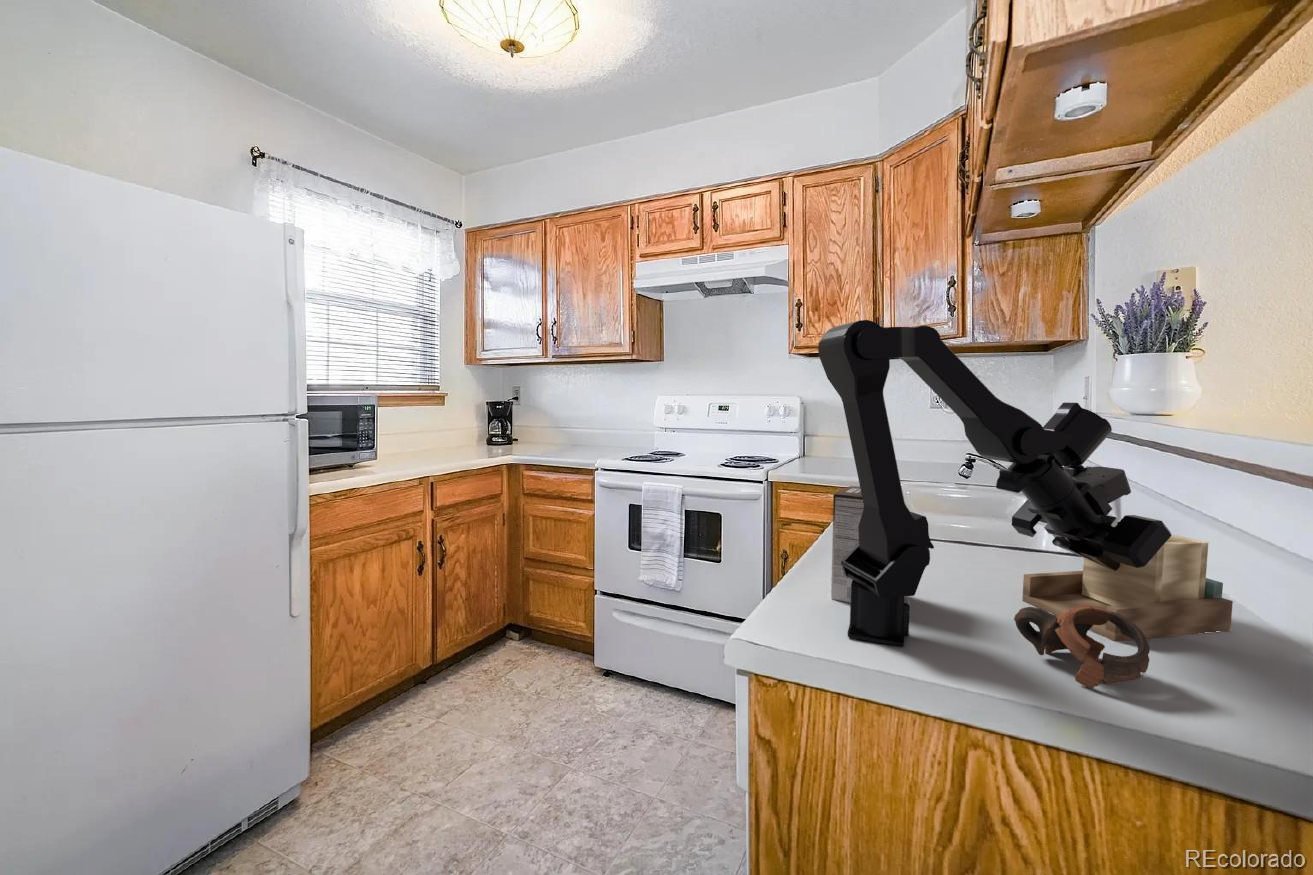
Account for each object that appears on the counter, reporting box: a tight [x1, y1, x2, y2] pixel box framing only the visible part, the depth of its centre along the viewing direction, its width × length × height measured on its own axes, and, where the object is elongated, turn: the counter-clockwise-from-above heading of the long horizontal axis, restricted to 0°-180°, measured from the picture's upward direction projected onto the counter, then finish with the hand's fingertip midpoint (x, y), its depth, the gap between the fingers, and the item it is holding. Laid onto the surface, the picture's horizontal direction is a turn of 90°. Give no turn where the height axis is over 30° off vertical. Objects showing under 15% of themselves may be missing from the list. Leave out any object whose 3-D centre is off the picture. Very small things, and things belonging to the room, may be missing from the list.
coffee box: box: [830, 485, 882, 603], centre depth 85 cm, size 9×6×16 cm
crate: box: [1082, 533, 1209, 606], centre depth 78 cm, size 8×10×10 cm
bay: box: [1022, 570, 1234, 642], centre depth 78 cm, size 18×14×6 cm
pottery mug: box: [1013, 605, 1151, 690], centre depth 62 cm, size 12×10×8 cm
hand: (1115, 567), depth 77 cm, fingers closed, pressing on crate
